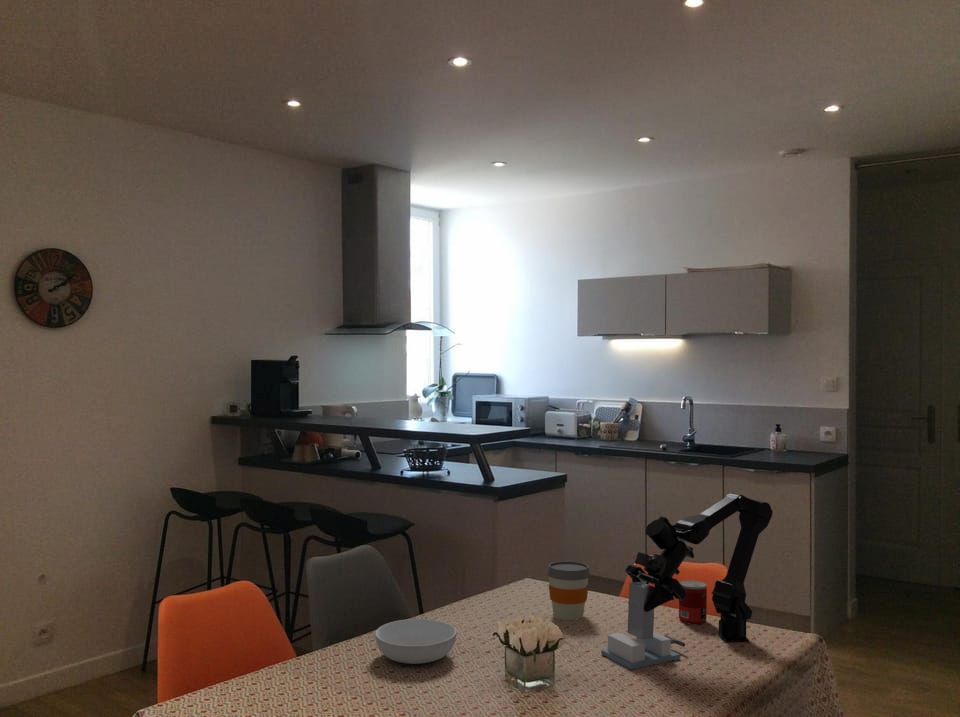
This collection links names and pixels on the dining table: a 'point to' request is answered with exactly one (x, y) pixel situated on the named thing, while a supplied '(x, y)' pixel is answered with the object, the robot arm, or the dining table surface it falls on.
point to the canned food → (693, 603)
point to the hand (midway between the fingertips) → (637, 607)
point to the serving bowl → (415, 640)
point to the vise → (640, 650)
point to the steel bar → (640, 611)
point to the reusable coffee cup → (568, 589)
